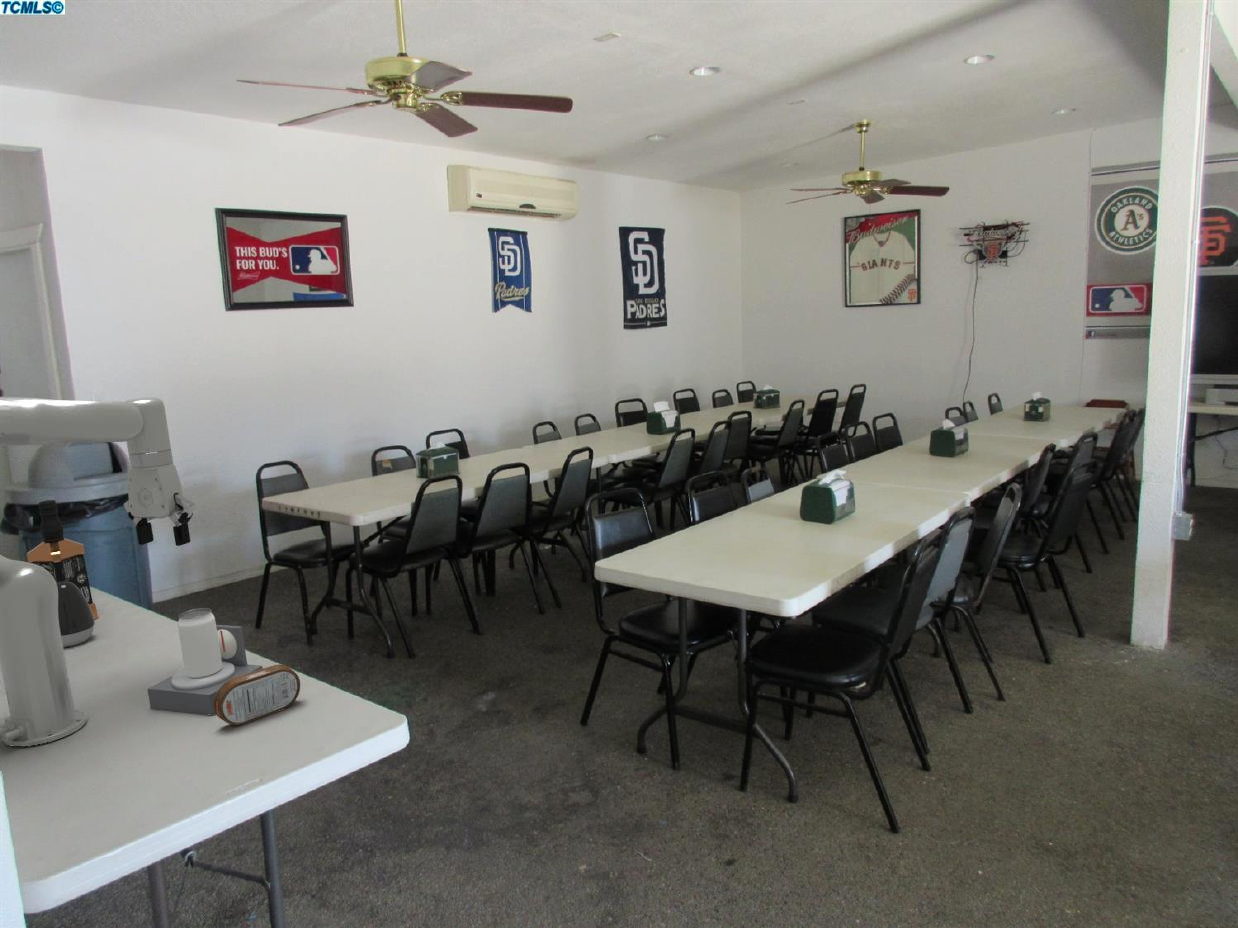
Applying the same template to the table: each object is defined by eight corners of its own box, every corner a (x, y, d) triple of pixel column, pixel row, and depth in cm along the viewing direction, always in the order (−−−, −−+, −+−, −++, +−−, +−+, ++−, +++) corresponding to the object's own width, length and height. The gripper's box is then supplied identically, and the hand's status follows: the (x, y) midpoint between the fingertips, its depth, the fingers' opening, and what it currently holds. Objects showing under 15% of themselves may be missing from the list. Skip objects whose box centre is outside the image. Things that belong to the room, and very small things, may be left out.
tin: (298, 699, 163) (292, 657, 161) (305, 703, 161) (299, 661, 159) (216, 729, 152) (209, 684, 151) (222, 734, 150) (215, 688, 149)
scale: (212, 715, 158) (203, 653, 156) (150, 708, 163) (140, 648, 161) (264, 684, 171) (256, 627, 169) (205, 679, 176) (197, 623, 174)
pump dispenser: (37, 648, 202) (25, 586, 199) (82, 633, 211) (71, 573, 208) (61, 653, 197) (49, 590, 194) (106, 638, 206) (95, 577, 203)
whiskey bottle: (101, 617, 222) (80, 496, 217) (69, 630, 213) (46, 505, 208) (68, 616, 225) (46, 497, 220) (35, 630, 215) (11, 505, 210)
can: (213, 663, 170) (204, 605, 168) (228, 669, 166) (219, 610, 164) (180, 674, 166) (170, 615, 163) (195, 682, 161) (185, 621, 159)
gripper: (102, 464, 170) (116, 547, 173) (169, 463, 164) (183, 549, 167) (134, 457, 177) (147, 538, 180) (200, 456, 171) (212, 539, 174)
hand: (164, 543), depth 174 cm, fingers open, 9 cm apart
